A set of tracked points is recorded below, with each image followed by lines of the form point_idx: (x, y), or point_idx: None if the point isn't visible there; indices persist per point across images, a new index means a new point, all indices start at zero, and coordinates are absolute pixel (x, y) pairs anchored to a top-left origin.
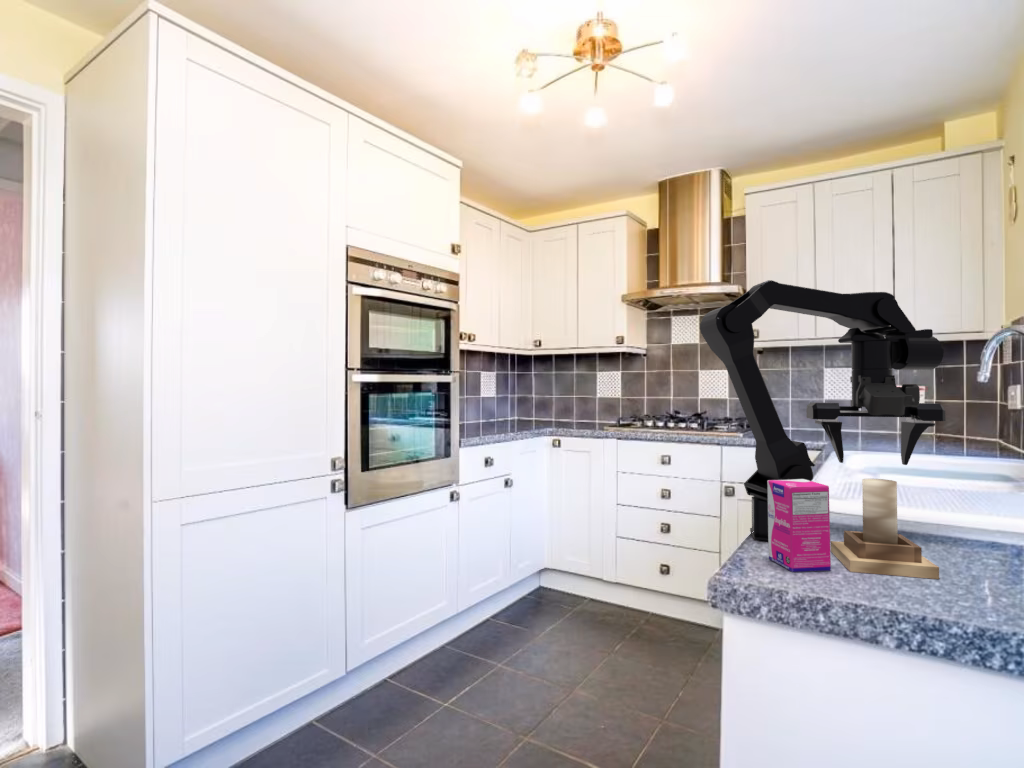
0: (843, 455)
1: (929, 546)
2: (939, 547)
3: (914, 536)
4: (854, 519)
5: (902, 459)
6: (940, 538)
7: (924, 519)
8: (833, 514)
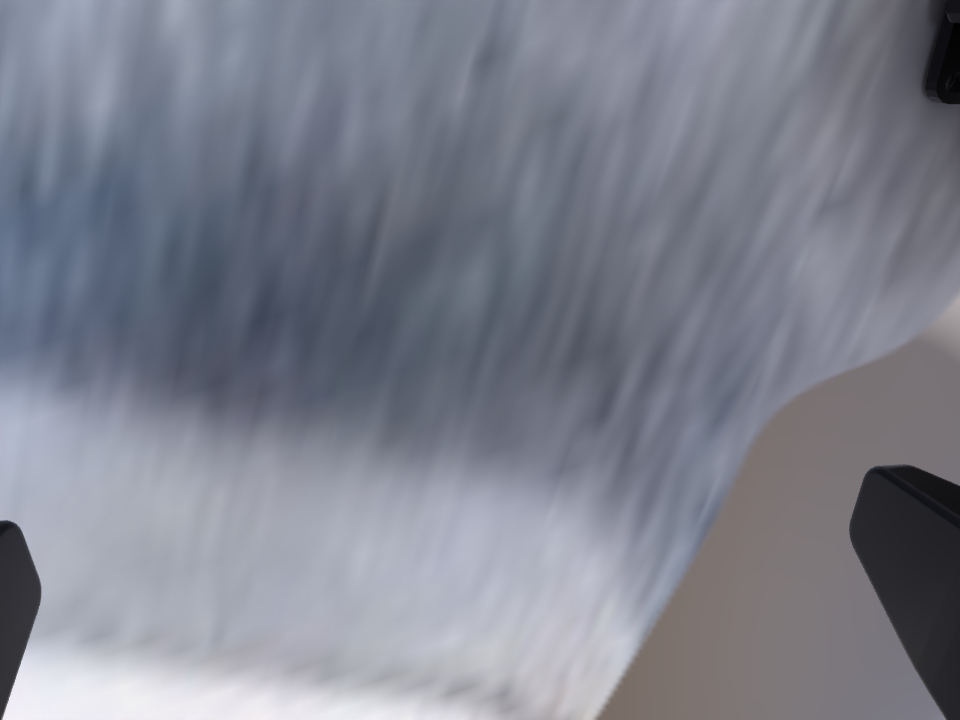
0: (958, 518)
1: (127, 26)
2: (66, 16)
3: (173, 294)
4: (413, 592)
5: (3, 638)
6: (26, 291)
7: (52, 705)
8: (489, 660)
